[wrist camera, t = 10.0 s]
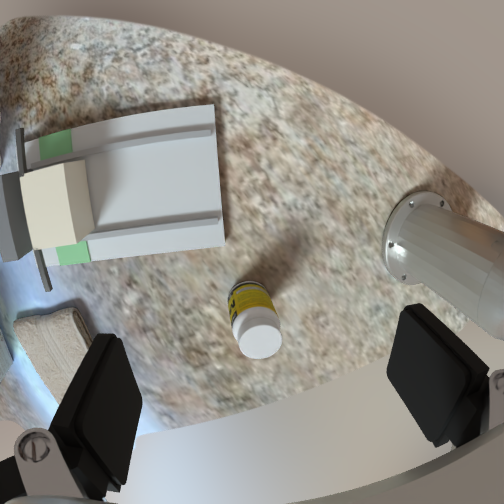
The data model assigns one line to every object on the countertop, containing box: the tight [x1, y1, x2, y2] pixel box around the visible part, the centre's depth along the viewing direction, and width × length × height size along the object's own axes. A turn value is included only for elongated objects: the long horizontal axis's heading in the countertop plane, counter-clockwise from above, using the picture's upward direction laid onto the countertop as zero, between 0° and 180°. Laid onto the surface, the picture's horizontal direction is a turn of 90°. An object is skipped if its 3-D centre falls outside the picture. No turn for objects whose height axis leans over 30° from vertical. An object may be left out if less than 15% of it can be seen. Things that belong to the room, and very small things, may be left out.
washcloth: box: [13, 308, 93, 405], centre depth 33 cm, size 12×18×3 cm, turn 11°
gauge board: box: [0, 104, 225, 268], centre depth 24 cm, size 22×14×7 cm, turn 94°
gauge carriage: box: [16, 128, 95, 292], centre depth 23 cm, size 5×15×5 cm, turn 4°
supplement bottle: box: [228, 281, 282, 359], centre depth 30 cm, size 5×5×8 cm
